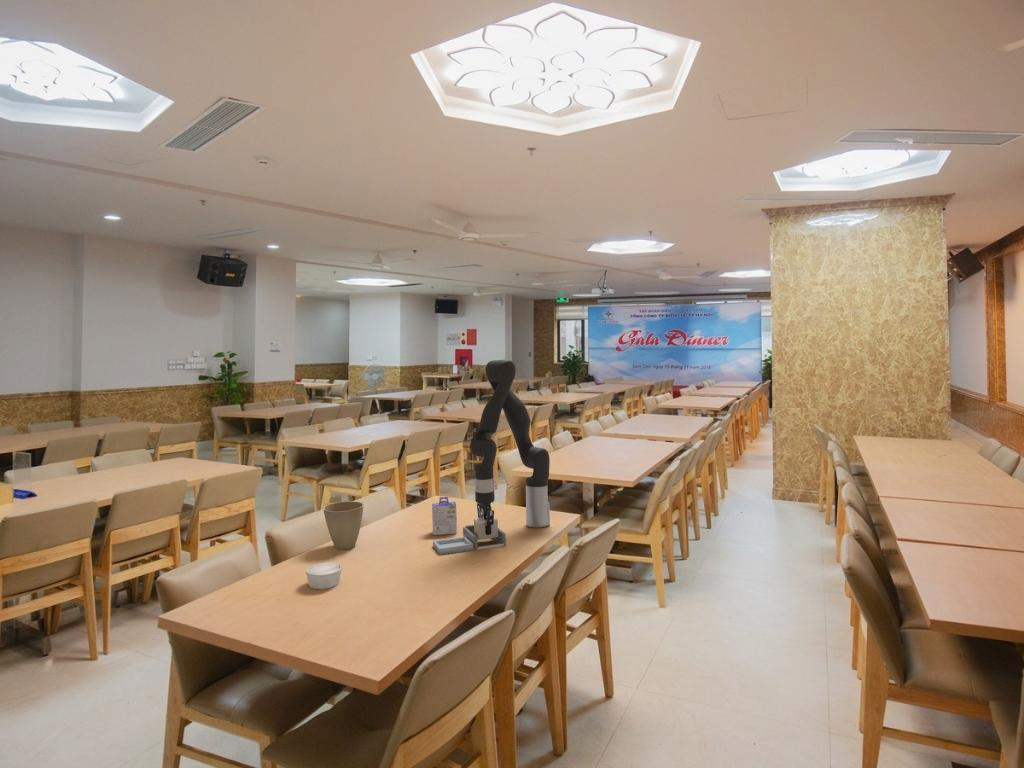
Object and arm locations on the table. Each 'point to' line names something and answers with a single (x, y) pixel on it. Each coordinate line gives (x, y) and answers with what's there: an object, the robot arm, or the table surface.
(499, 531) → the frame
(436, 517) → the ink cartridge box
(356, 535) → the plant pot
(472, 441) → the robot arm
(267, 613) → the table surface
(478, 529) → the tall cream box
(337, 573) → the ramekin
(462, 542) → the tray
